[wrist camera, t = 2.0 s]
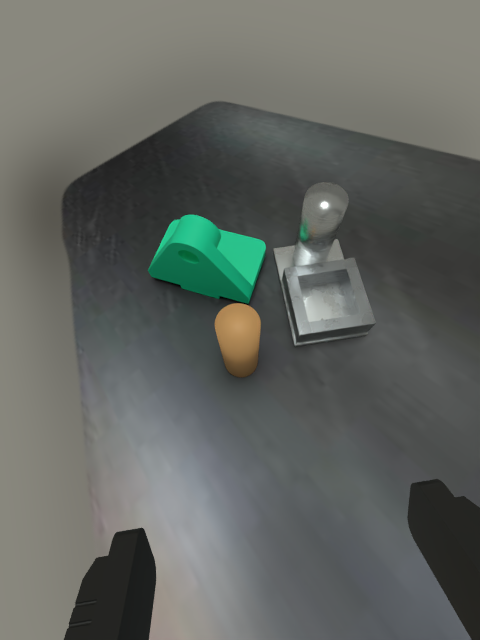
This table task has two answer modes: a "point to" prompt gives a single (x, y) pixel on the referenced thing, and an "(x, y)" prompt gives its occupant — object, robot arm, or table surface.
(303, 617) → the table surface
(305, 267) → the clear post on plate
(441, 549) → the robot arm
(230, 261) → the camera mount
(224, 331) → the tan rounded cylinder
